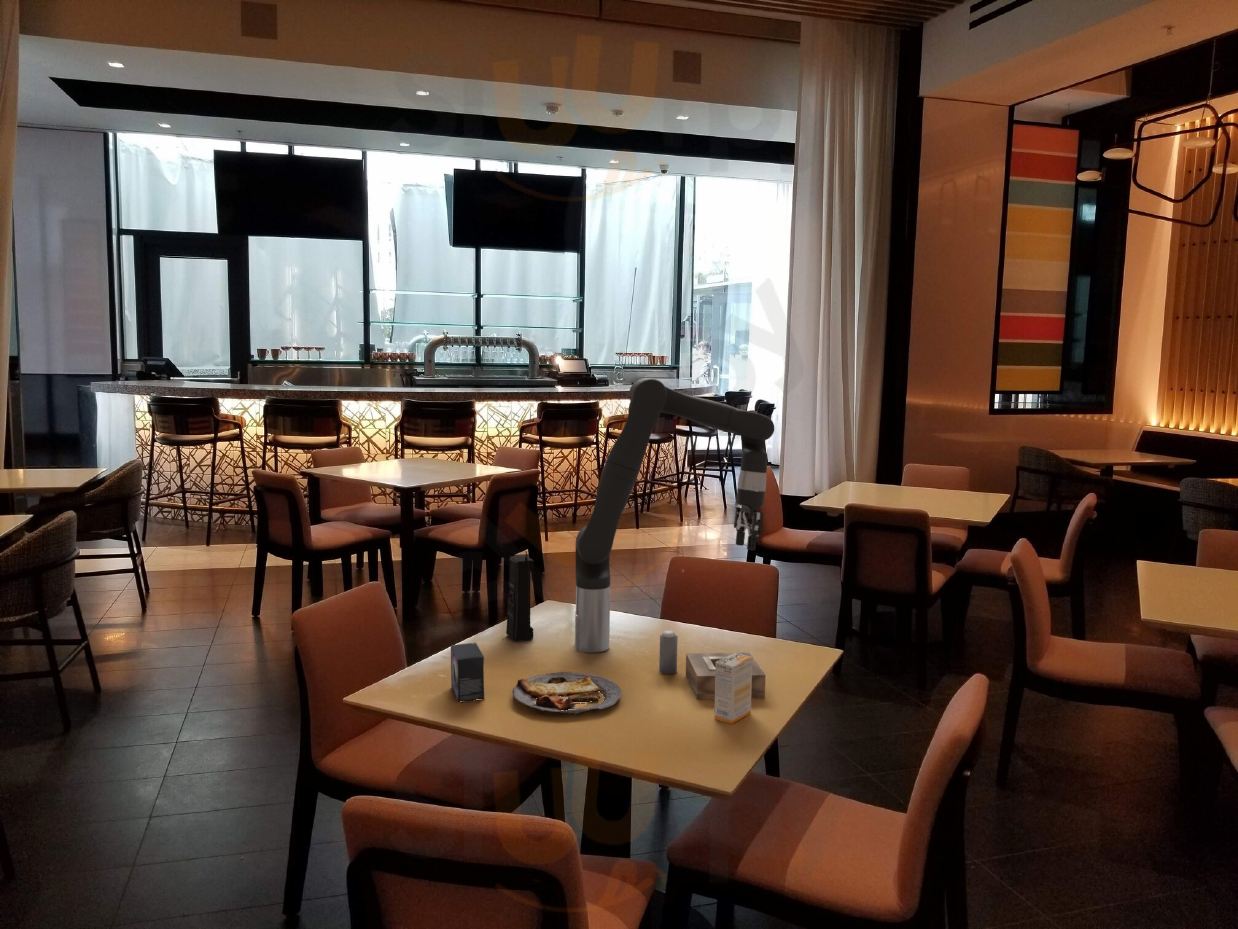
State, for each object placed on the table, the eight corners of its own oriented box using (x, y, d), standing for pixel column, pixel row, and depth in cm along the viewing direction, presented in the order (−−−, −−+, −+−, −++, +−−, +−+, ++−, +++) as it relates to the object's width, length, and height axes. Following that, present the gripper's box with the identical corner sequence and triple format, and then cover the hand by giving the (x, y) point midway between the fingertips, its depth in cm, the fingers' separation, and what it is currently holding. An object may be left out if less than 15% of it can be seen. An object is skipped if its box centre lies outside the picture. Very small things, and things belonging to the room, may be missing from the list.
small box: (449, 687, 213) (449, 644, 212) (476, 684, 215) (476, 641, 214) (456, 703, 203) (456, 658, 202) (485, 700, 205) (485, 655, 204)
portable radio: (504, 634, 254) (504, 547, 251) (524, 632, 256) (524, 546, 253) (513, 642, 247) (513, 553, 244) (533, 640, 249) (534, 551, 246)
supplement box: (733, 708, 203) (734, 651, 201) (751, 713, 200) (753, 656, 198) (712, 719, 197) (714, 661, 195) (731, 725, 193) (733, 666, 192)
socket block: (696, 699, 208) (697, 674, 207) (685, 674, 224) (686, 652, 223) (764, 697, 209) (765, 673, 209) (748, 674, 225) (749, 651, 224)
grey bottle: (660, 674, 224) (661, 635, 223) (658, 668, 228) (659, 629, 227) (677, 674, 224) (678, 635, 223) (675, 668, 229) (676, 629, 227)
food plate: (520, 722, 193) (521, 706, 192) (504, 685, 215) (505, 671, 215) (632, 715, 199) (633, 699, 199) (605, 680, 222) (606, 666, 221)
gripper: (729, 484, 249) (723, 542, 250) (748, 489, 235) (741, 551, 236) (754, 487, 251) (748, 544, 251) (774, 491, 237) (768, 552, 238)
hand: (745, 547), depth 244 cm, fingers open, 8 cm apart
